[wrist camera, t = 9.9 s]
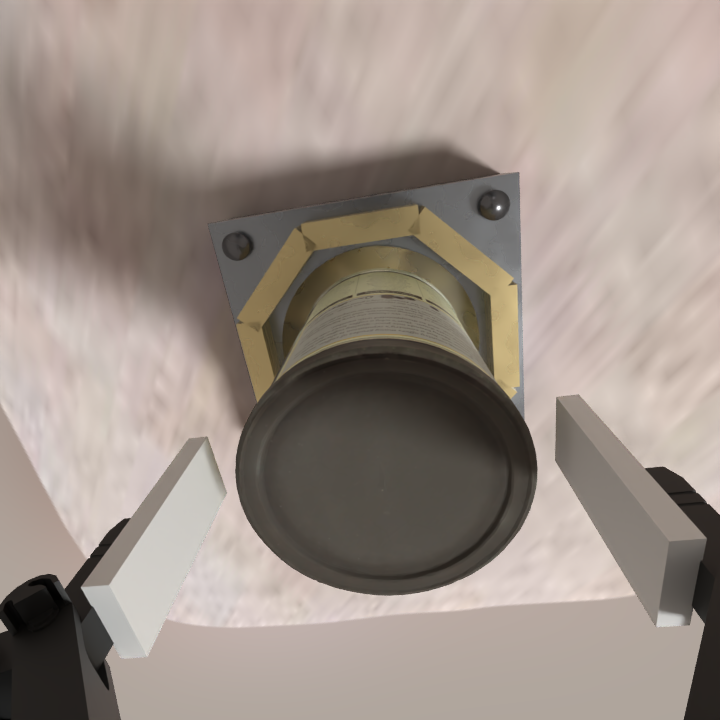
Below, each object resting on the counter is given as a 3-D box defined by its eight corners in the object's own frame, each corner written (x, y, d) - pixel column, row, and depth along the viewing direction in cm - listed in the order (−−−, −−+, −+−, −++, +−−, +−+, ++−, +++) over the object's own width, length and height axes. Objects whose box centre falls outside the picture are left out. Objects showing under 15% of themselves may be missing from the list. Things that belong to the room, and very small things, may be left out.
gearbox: (229, 218, 29) (195, 226, 24) (500, 173, 28) (529, 171, 22) (287, 444, 36) (270, 490, 31) (509, 419, 34) (533, 463, 29)
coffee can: (486, 381, 28) (576, 548, 15) (346, 437, 31) (320, 627, 17) (425, 235, 25) (474, 289, 12) (272, 308, 27) (173, 423, 14)
